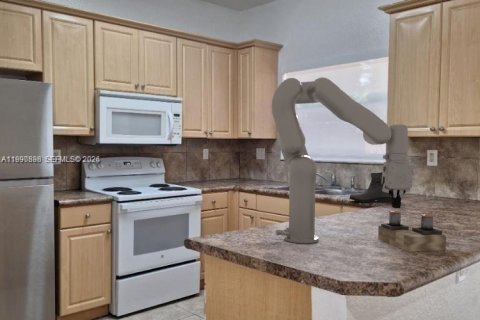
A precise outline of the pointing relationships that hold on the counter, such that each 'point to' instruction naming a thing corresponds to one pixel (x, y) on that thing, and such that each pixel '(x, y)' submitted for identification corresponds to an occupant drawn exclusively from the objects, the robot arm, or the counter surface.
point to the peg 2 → (427, 222)
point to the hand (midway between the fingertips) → (396, 207)
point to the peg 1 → (394, 218)
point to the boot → (373, 191)
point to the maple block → (412, 237)
